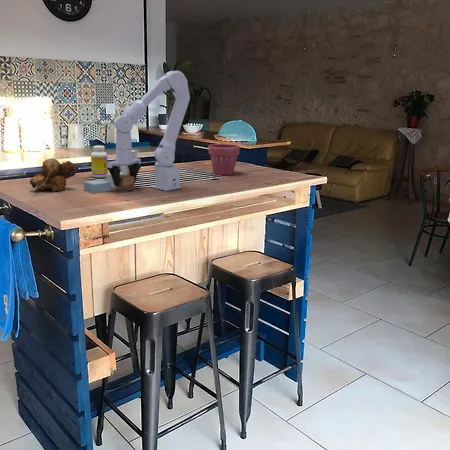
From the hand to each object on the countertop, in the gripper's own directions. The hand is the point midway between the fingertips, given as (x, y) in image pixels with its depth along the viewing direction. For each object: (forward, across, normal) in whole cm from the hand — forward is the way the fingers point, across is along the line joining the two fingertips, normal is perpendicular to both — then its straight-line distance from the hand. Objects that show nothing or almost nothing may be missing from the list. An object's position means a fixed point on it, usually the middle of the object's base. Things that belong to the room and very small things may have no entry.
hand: (124, 184), depth 191 cm
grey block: (+2, -1, -7) cm, 7 cm away
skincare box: (+2, -13, -14) cm, 19 cm away
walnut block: (+2, 0, 0) cm, 2 cm away
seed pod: (+2, +20, -18) cm, 27 cm away
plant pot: (+2, -54, +3) cm, 54 cm away
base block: (+2, +9, -5) cm, 10 cm away
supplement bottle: (+2, -8, -27) cm, 28 cm away
